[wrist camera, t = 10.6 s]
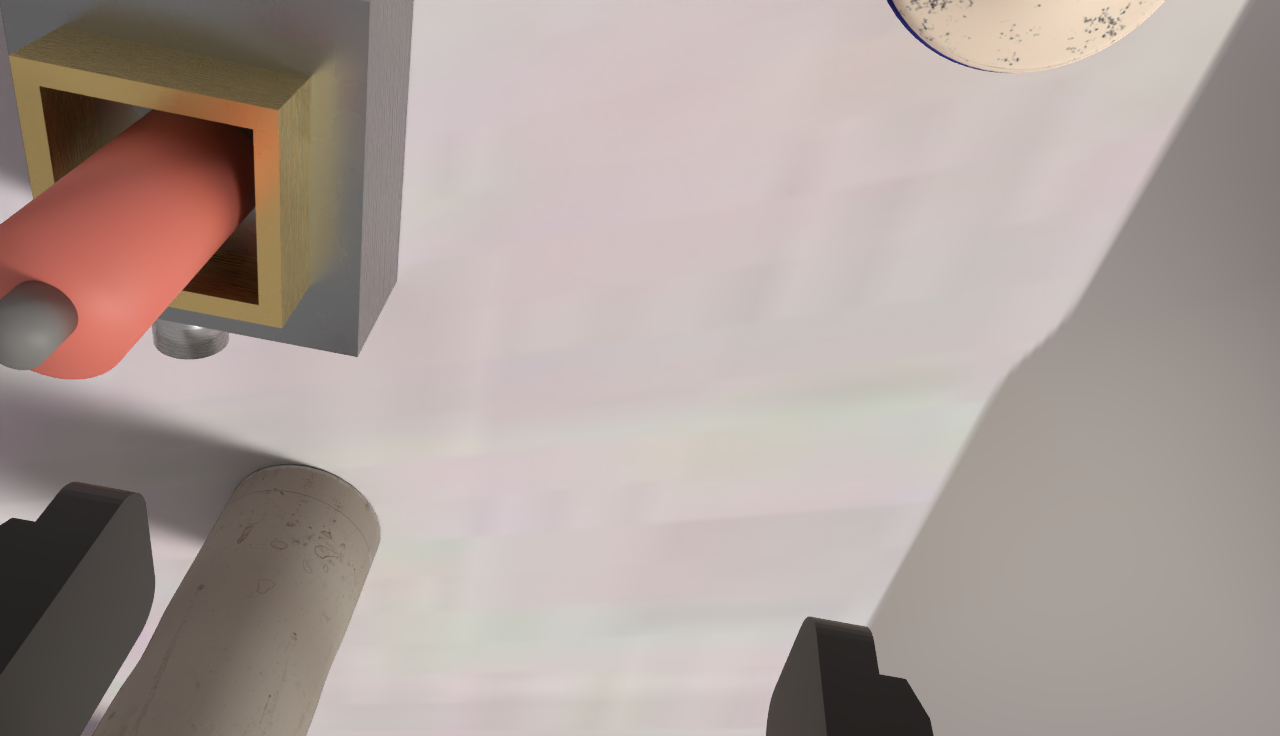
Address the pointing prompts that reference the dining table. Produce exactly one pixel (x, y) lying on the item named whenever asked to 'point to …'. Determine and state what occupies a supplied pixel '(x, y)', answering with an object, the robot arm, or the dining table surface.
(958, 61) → the teacup with lid
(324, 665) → the thermos bottle
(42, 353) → the oil can
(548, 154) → the dining table surface
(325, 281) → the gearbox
